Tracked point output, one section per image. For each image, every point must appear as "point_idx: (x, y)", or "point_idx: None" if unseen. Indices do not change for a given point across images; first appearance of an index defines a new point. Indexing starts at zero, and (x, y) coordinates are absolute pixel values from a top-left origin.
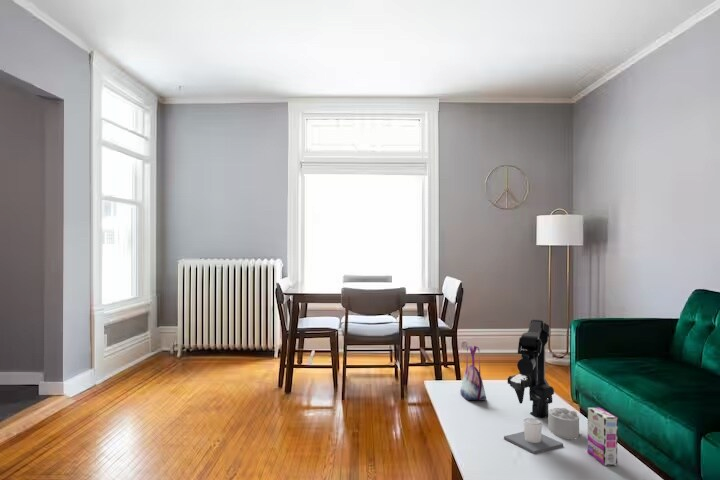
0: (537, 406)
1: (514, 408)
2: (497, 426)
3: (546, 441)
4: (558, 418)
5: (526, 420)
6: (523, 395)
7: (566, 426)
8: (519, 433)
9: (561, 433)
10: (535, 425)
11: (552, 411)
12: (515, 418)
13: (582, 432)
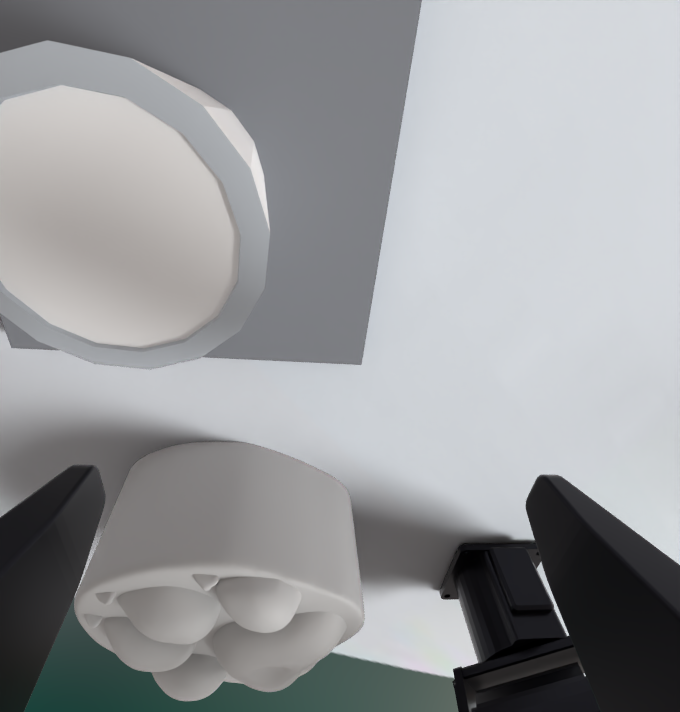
0: (27, 532)
1: (651, 534)
2: (639, 202)
3: None
4: (176, 564)
5: (197, 184)
6: (589, 674)
7: (120, 529)
8: (370, 196)
9: (174, 465)
10: None
11: (277, 611)
12: (582, 442)
13: None
